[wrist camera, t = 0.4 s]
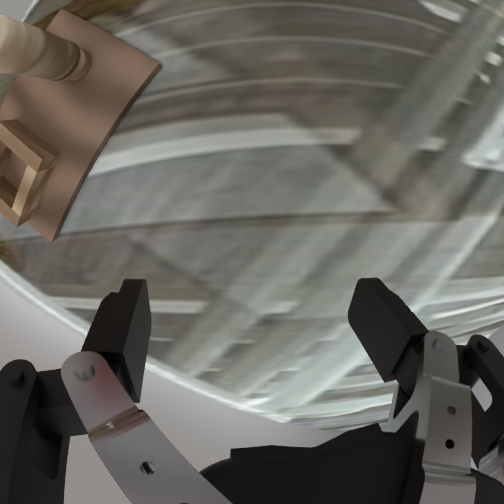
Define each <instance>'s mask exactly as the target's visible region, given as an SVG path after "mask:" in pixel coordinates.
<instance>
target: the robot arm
mask: <svg viewBox="0 0 504 504" xmlns="http://www.w3.org/2000/svg"><path fill="white" fill-rule="evenodd" d="M348 320H349V324H350V326H351V327H352V329H353V330H354V332H355V334H356V335H357V337H358V339H359V340H360V342H361V344H362V345H363V347H364V349H365V350H366V352H367V354H368V355H369V357H370V359H371V360H372V362H373V364H374V365H375V367H376V369H377V371H378V372H379V374H380V376H381V377H382V379H383V381H384V383H386V382H390V381H393V380H397V381H398V383H397V385H396V387H395V389H394V394H393V399H392V404H391V408H390V413H389V417H388V422H387V425H386V428H385V430H384V431H383V432H382V430H381V428H380V426H379V424H378V423H375V424H372V425H369V426H365V427H361V428H358V429H354V430H350V431H347V432H345V433H343V434H341V435H339V436H337V437H335V438H334V439H331V440H329V441H327V442H325V443H323V444H321V445H319V446H316V447H312V448H308V447H288V446H287V447H286V446H275V445H269V446H259V447H250V448H235V449H231V452H230V458H229V459H225V460H222V461H219V462H217V463H214V464H212V465H210V466H208V467H206V468H204V469H203V470H202V471H200V472H198V471H197V470H196V469H195V468H194V467H193V466H192V465H191V464H190V463H189V462H188V461H187V460H186V459H185V458H184V456H183V455H182V454H181V453H180V452H179V451H178V450H177V449H176V448H175V447H174V446H173V444H172V443H171V442H170V441H169V440H168V439H167V438H166V437H165V435H164V434H163V433H162V432H161V430H160V429H159V428H158V427H157V426H156V424H155V423H154V422H153V421H152V420H151V418H150V417H149V416H148V415H147V413H146V412H145V411H144V410H139V409H138V408H137V406H136V405H135V404H134V403H140V397H141V389H142V382H143V374H144V369H145V362H146V356H147V350H148V344H149V338H150V333H151V311H150V305H149V297H148V290H147V283H146V280H145V279H125V280H124V281H123V284H122V286H121V289H120V291H119V293H115V292H111V293H110V294H109V295H108V296H106V297H105V298H104V299H103V300H102V301H101V304H100V306H99V308H98V310H97V313H96V315H95V317H94V321H93V322H92V325H91V327H90V329H89V332H88V334H87V337H86V339H85V342H84V344H83V347H82V350H81V352H78V353H75V354H73V355H72V356H70V357H69V358H68V359H67V360H66V361H65V362H64V364H63V365H62V368H61V369H56V370H49V371H40V372H37V371H36V370H35V368H34V366H33V365H32V363H30V362H29V361H27V360H22V359H18V360H13V361H11V362H9V363H8V364H6V365H5V366H4V367H3V368H2V370H1V371H0V504H64V487H65V475H66V464H67V456H68V449H69V442H70V436H76V435H84V434H89V435H88V437H89V439H90V441H91V443H92V445H93V447H94V449H95V450H96V452H97V454H98V455H99V457H100V458H101V460H102V462H103V463H104V465H105V466H106V468H107V469H108V471H109V473H110V474H111V476H112V477H113V478H114V480H115V481H116V483H117V484H118V486H119V487H120V488H121V490H122V491H123V493H124V494H125V495H126V497H127V498H128V499H129V501H130V502H131V503H132V504H504V357H503V355H502V354H501V353H500V352H499V351H498V349H497V348H496V347H495V346H494V344H493V343H492V342H491V341H490V340H489V339H487V338H486V337H484V336H482V335H473V336H471V338H470V339H469V341H468V343H467V344H466V345H455V343H454V341H453V340H452V339H451V338H450V337H448V336H447V335H445V334H443V333H441V332H437V331H432V332H429V331H428V330H427V328H426V327H425V326H424V325H423V324H422V323H421V321H420V320H419V319H418V318H417V317H416V315H415V314H414V313H413V312H412V311H410V309H409V307H408V306H407V305H405V303H404V302H403V301H402V299H401V298H400V297H399V296H398V295H396V294H395V293H393V292H392V291H390V290H389V289H388V288H387V287H386V286H385V285H384V283H383V282H382V281H381V280H380V279H379V278H361V279H359V280H358V282H357V284H356V288H355V291H354V294H353V297H352V301H351V304H350V307H349V310H348ZM479 378H481V380H482V381H483V383H484V384H485V386H486V387H487V389H488V390H489V392H490V393H491V395H492V404H491V406H490V407H489V408H488V409H487V410H486V412H485V411H484V410H483V408H482V407H481V405H480V403H479V402H478V400H477V399H476V397H475V395H474V394H473V392H472V391H471V389H472V388H473V386H474V385H475V384H476V382H477V381H478V380H479ZM471 457H472V459H473V461H474V463H475V465H476V467H477V469H478V471H477V470H475V469H472V468H470V466H471Z"/></svg>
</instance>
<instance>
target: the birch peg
mask: <svg viewBox="0 0 504 504" xmlns="http://www.w3.org/2000/svg"><path fill="white" fill-rule="evenodd" d="M90 66H91V56H90V54H89V53H88V52H86V51H84V50H81V49H80V48H79V46H78V45H77V44H76V43H74V42H72V41H69V40H66V39H64V38H62V37H59V36H57V35H55V34H52V33H50V32H47V31H45V30H42V29H40V28H37V27H35V26H32V25H29V24H26V23H24V22H21V21H18V20H15V19H12V18H9V17H6V16H3V15H0V73H6V74H15V75H23V76H31V77H38V78H44V79H49V80H53V81H60V80H63V79H66V80H71V81H76V80H79V79H81V78H82V77H83V76H85V74H86V73H87V72H88V70H89V68H90Z"/></svg>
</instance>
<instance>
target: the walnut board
mask: <svg viewBox="0 0 504 504" xmlns="http://www.w3.org/2000/svg"><path fill="white" fill-rule="evenodd" d="M45 31H47V32H50V33H52V34H55V35H57V36H59V37H62V38H64V39H66V40H69V41H72V42H74V43H76V44H77V45H78V46H79V48H80V49H81V50H84V51H86V52H88V53H89V54H90V56H91V66H90V68H89V70H88V72H87V73H86V74H85V76H83V77H82V78H81V79H79V80H76V81H71V80H66V79H63V80H60V81H53V80H49V79H44V78H38V77H31V76H23V75H17V77H16V79H15V81H14V82H13V84H12V86H11V88H10V90H9V92H8V94H7V96H6V99H5V101H4V103H3V105H2V107H1V109H0V212H1V213H2V214H3V215H4V216H5V217H6V218H7V219H8V220H9V221H10V222H11V223H13V224H14V225H15V226H16V227H18V226H20V225H21V224H23V223H24V222H27V223H28V224H29V225H31V226H32V227H33V228H34V229H35V230H36V231H38V232H39V233H40V234H41V235H42V236H43V237H45V238H46V239H47V240H48V241H49V242H51V243H52V242H53V241H54V240H55V239H57V237H58V235H59V232H60V230H61V228H62V225H63V223H64V221H65V219H66V217H67V214H68V212H69V210H70V208H71V206H72V204H73V202H74V200H75V198H76V196H77V194H78V192H79V190H80V188H81V186H82V184H83V183H84V181H85V179H86V177H87V175H88V173H89V172H90V170H91V168H92V166H93V165H94V163H95V161H96V159H97V158H98V156H99V154H100V153H101V151H102V149H103V148H104V146H105V144H106V143H107V141H108V140H109V138H110V137H111V135H112V134H113V132H114V130H115V129H116V127H117V126H118V124H119V123H120V122H121V120H122V119H123V117H124V116H125V114H126V113H127V111H128V110H129V109H130V107H131V106H132V105H133V103H134V102H135V100H136V99H137V98H138V96H139V95H140V94H141V92H142V91H143V90H144V89H145V87H146V86H147V85H148V84H149V82H150V81H151V80H152V79H153V77H154V76H155V75H156V74H157V72H158V71H159V70H160V69H161V68H162V66H161V65H160V64H159V63H157V62H156V61H154V60H153V59H151V58H149V57H148V56H146V55H145V54H143V53H142V52H140V51H138V50H137V49H135V48H133V47H132V46H130V45H128V44H127V43H125V42H123V41H122V40H120V39H118V38H116V37H115V36H113V35H111V34H109V33H108V32H106V31H104V30H102V29H100V28H99V27H97V26H95V25H93V24H91V23H89V22H87V21H85V20H83V19H82V18H80V17H78V16H76V15H74V14H71V13H69V12H67V11H65V10H63V9H61V10H60V11H59V12H58V14H57V15H56V16H55V18H54V19H53V20H52V22H51V23H50V24H49V26H48V27H47V29H46V30H45Z"/></svg>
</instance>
